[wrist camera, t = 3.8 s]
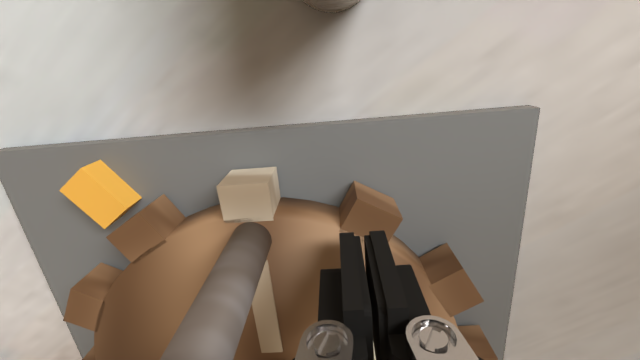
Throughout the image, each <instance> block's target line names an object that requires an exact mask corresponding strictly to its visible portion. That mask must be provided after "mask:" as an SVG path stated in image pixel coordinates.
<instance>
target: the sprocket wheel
mask: <svg viewBox="0 0 640 360" xmlns="http://www.w3.org/2000/svg"><path fill="white" fill-rule="evenodd" d="M216 187H217V192H218V197H219V201H220V204H219V205H216V206H212V207H209V208H206V209H204V210H201V211H199V212H197V213H194V214H192V215H189V216H187V217H185V216H184V215H183V214H182V213H181V212H180V211H179V210H178V208H177V207H176V206H175V205H174V204H173V203H172V202H171V201H170V200H169V199H168V198H167V197H166V195H165V194H163V195H161V196H160V197H159V198H157V199H156V200H154V201H153V202H152V203H150V204H149V205H148V206H146V207H145V208H143V209H142V210H141V211H139V212H138V213H137V214H135V215H134V216H133V217H131V218H130V219H129V220H127V221H126V222H125V223H124V224H122V225H121V226H120V227H118V228H117V229H116V230H115V231H113V232H112V233H111V234H109V235H108V236H107V237H106V238H107V239H108V240H109V241H110V242H111V243H112V244H113V245H114V246H115V247H116V248H117V249H118V250H119V251H120V252H121V253H122V254H123V255H124V256H125V257H126V258H127V259H128V260H129V261H130V262H131V263H130V264H129V265H128V266H127V267H126V269H125V270H124V271H122V270H120V269H117V268H115V267H112V266H109V265H107V264H104V263H100V264H99V265H97V266H96V267H95V268H94V269H93V270H92V271H90V272H89V273H88V274H87V275H86V276H85V277H84V278H82V279H81V280H80V281H79V282H78V283H77V284H76V285H74V286H73V287H72V288H71V289H70V293H69V298H68V302H67V306H66V311H65V315H64V320H63V321H66V322H69V323H72V324H75V325H77V326H80V327H83V328H86V329H89V330H91V331H94V346H93V347H92V348H91V350H90V351H89V352H88V353H87V354H86V356H85V357H84V358H83V359H82V360H292V359H294V358H295V357H296V353H297V350H298V346H299V343H300V340H301V337H302V335H303V333H304V331H305V330H306V329H307V328H308V327H309V326H310V325H312V324H314V323H315V322H318V306H319V286H320V270H321V269H337V268H341V261H340V241H339V233H349V232H354V236H360V241H361V247H362V253H363V259H364V265H365V249H364V235H369V231H381V230H384V231H385V234H386V237H387V240H388V243H389V246H390V249H391V252H392V256H393V259H394V262H395V265H408V264H410V265H411V266H412V268H413V271H414V273H415V276H416V278H417V281H418V283H419V286H420V288H421V291H422V293H423V296H424V298H425V301H426V303H427V306H428V308H429V311H430V314H431V315H432V316H437V317H441V318H443V319H446V320H448V321H449V322H451V323H452V324H454V325H455V326H456V328H457V329H458V330H459V331H460V332H461V334H462V335H463V337H464V338H465V340H466V341H467V343H468V344H469V345H470V347H471V348H472V350H473V351H474V353H475V354H476V356H478V357H480V358H482V359H483V360H498V358H497V356H496V354H495V353H494V351H493V349H492V347H491V345H490V344H489V342H488V340H487V338H486V337H485V335H484V333H483V331H482V329H481V328H480V326H479V325H469V326H457V324H456V321H455V318H454V316H455V315H457V314H459V313H461V312H463V311H465V310H467V309H469V308H471V307H474V306H476V305H478V304H480V303H482V302H484V300H483V298H482V297H481V295H480V294H479V292H478V290H477V289H476V287H475V286H474V284H473V283H472V281H471V280H470V278H469V276H468V275H467V273H466V272H465V270H464V269H463V267H462V266H461V264H460V262H459V261H458V259H457V258H456V256H455V255H454V253H453V252H452V250H451V249H450V247H449V245H448V244H447V243H445V244H443V245H441V246H439V247H438V248H436V249H434V250H432V251H430V252H428V253H426V254H424V255H423V256H421V257H418V256H417V255H416V254H415V253H414V252H413V251H412V250H411V249H410V248H409V247H408V246H407V245H406V244H405V243H403V242H402V241H401V240H400V239H399V238H397V237H396V236H394V235H393V234H394V233H395V231H396V230H397V228H398V227H399V225H400V223H401V222H402V220H403V218H402V215H401V213H400V211H399V209H398V207H397V204H396V202H395V200H394V198H392V197H389V196H387V195H385V194H383V193H381V192H378V191H376V190H374V189H372V188H370V187H367V186H365V185H363V184H361V183H359V182H356V181H353V183H352V185H351V187H350V188H349V190H348V192H347V194H346V196H345V198H344V199H343V201H342V203H341V205H340V207H336V206H333V205H328V204H324V203H320V202H316V201H312V200H304V199H295V198H287V197H281V196H280V189H279V181H278V174H277V167H264V168H250V169H236V170H231V171H230V172H229V173H228V174H227V175H226V176H225V178H224V179H223V180H222V181H221V182H220V183H219V184H218V185H217V186H216ZM365 271H366V269H365ZM373 348H374V343H373ZM374 360H376V356H375V349H374Z"/></svg>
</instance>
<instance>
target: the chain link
mask: <svg viewBox="0 0 640 360" xmlns="http://www.w3.org/2000/svg"><path fill="white" fill-rule="evenodd" d="M303 1H304V2H305V3H306V4H308V5H309V6H310V7H312V8H314V9H316V10H319V11H322V12H329V13H333V12H340V11H344V10H346V9H348V8H351V7H352V6H354V5H355V4H357V3H358V2H359V1H360V0H303Z"/></svg>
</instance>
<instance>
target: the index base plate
mask: <svg viewBox="0 0 640 360" xmlns="http://www.w3.org/2000/svg"><path fill="white" fill-rule="evenodd" d="M539 113H540V108H539V107H535V106H530V105H525V106H513V107H501V108H488V109H476V110H464V111H452V112H439V113H427V114H415V115H403V116H391V117H378V118H366V119H354V120H342V121H329V122H317V123H305V124H293V125H280V126H268V127H256V128H244V129H231V130H219V131H207V132H195V133H182V134H170V135H158V136H146V137H133V138H121V139H109V140H97V141H84V142H72V143H60V144H48V145H35V146H23V147H11V148H3V149H0V180H1V182H2V184H3V187H4V189H5V191H6V193H7V195H8V198H9V200H10V202H11V204H12V206H13V208H14V211H15V213H16V215H17V217H18V219H19V221H20V224H21V226H22V228H23V230H24V232H25V235H26V237H27V239H28V241H29V243H30V245H31V248H32V250H33V252H34V254H35V256H36V258H37V261H38V263H39V265H40V267H41V269H42V271H43V274H44V276H45V278H46V280H47V282H48V285H49V287H50V289H51V291H52V293H53V295H54V298H55V300H56V302H57V304H58V306H59V308H60V311H61V313H62V315H63V317H64V315H65V311H66V306H67V302H68V298H69V293H70V289H71V288H72V287H73V286H74V285H76V284H77V283H78V282H79V281H80V280H81V279H82V278H84V277H85V276H86V275H87V274H88V273H89V272H90V271H92V270H93V269H94V268H95V267H96V266H97V265H99V264H100V263H104V264H107V265H109V266H112V267H115V268H117V269H120V270H122V271H124V270H125V269H126V267H127V266H128V265H129V264H130V263H131V262H130V261H129V260H128V259H127V258H126V257H125V256H124V255H123V254H122V253H121V252H120V251H119V250H118V249H117V248H116V247H115V246H114V245H113V244H112V243H111V242H110V241H109V240H108V239H107V238H106V237H107V236H108V235H109V234H111V233H112V232H113V231H115V230H116V229H117V228H118V227H120V226H121V225H122V224H124V223H125V222H126V221H127V220H129V219H130V218H131V217H133V216H134V215H135V214H137V213H138V212H139V211H141V210H142V209H143V208H145V207H146V206H148V205H149V204H150V203H152V202H153V201H154V200H156V199H157V198H159V197H160V196H161V195H163V194H165V195H166V197H167V198H168V199H169V200H170V201H171V202H172V203H173V204H174V205H175V206H176V207H177V208H178V210H179V211H180V212H181V213H182V214H183V215H184V216H185V217H187V216H189V215H192V214H194V213H197V212H199V211H201V210H204V209H206V208H209V207H212V206H216V205H219V204H220V201H219V197H218V192H217V187H216V186H217V185H218V184H219V183H220V182H221V181H222V180H223V179H224V178H225V176H226V175H227V174H228V173H229V172H230V171H231V170H236V169H250V168H264V167H277V174H278V181H279V189H280V196H281V197H287V198H295V199H304V200H312V201H316V202H320V203H324V204H328V205H333V206H336V207H340V205H341V203H342V201H343V199H344V198H345V196H346V194H347V192H348V190H349V188H350V187H351V185H352V183H353V181H356V182H359V183H361V184H363V185H365V186H367V187H370V188H372V189H374V190H376V191H378V192H381V193H383V194H385V195H387V196H389V197H392V198H394V200H395V202H396V204H397V207H398V209H399V211H400V213H401V215H402V218H403V220H402V222H401V223H400V225H399V227H398V228H397V230H396V231H395V233H394V234H393V235H394V236H396V237H397V238H399V239H400V240H401V241H402V242H403V243H405V244H406V245H407V246H408V247H409V248H410V249H411V250H412V251H413V252H414V253H415V254H416V255H417V256H418V257H421V256H423V255H424V254H426V253H428V252H430V251H432V250H434V249H436V248H438V247H439V246H441V245H443V244H445V243H447V244H448V245H449V247H450V249H451V250H452V252H453V253H454V255H455V256H456V258H457V259H458V261H459V262H460V264H461V266H462V267H463V269H464V270H465V272H466V273H467V275H468V276H469V278H470V280H471V281H472V283H473V284H474V286H475V287H476V289H477V290H478V292H479V294H480V295H481V297H482V298H483V300H484V302H482V303H480V304H478V305H476V306H474V307H471V308H469V309H467V310H465V311H463V312H461V313H459V314H457V315H455V316H454V318H455V321H456V324H457V326H469V325H479V326H480V328H481V329H482V331H483V333H484V335H485V337H486V338H487V340H488V342H489V344H490V345H491V347H492V349H493V351H494V353H495V354H496V356H497V358H498V360H503V357H504V350H505V343H506V336H507V330H508V323H509V316H510V309H511V302H512V296H513V289H514V282H515V275H516V269H517V262H518V255H519V248H520V241H521V235H522V228H523V221H524V214H525V208H526V201H527V194H528V187H529V180H530V174H531V167H532V160H533V153H534V146H535V140H536V133H537V126H538V119H539ZM66 324H67V326H68V328H69V330H70V332H71V335H72V337H73V339H74V341H75V343H76V345H77V348H78V350H79V352H80V354H81V356H82V358H84V357H85V356H86V354H87V353H88V352H89V351H90V350H91V348H92V347H93V346H94V331H91V330H89V329H86V328H83V327H80V326H77V325H75V324H72V323H69V322H66Z"/></svg>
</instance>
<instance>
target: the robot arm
mask: <svg viewBox="0 0 640 360" xmlns="http://www.w3.org/2000/svg"><path fill="white" fill-rule="evenodd" d="M339 241H340V261H341V268H337V269H321V270H320V286H319V306H318V322H315V323H314V324H312V325H310V326H309V327H308V328H307V329H306V330H305V331H304V333H303V335H302V337H301V340H300V343H299V346H298V350H297V353H296V357H295V358H294V359H292V360H374V349H375V356H376V360H483V359H482V358H480V357H478V356H476V354H475V353H474V351H473V350H472V348H471V347H470V345H469V344H468V343H467V341H466V340H465V338H464V337H463V335H462V334H461V332H460V331H459V330H458V329H457V328H456V326H455V325H454V324H452V323H451V322H449V321H448V320H446V319H443V318H441V317H437V316H432V315H431V314H430V311H429V308H428V306H427V303H426V301H425V298H424V296H423V293H422V291H421V288H420V286H419V283H418V281H417V278H416V276H415V273H414V271H413V268H412V266H411V265H410V264H408V265H395V262H394V259H393V256H392V252H391V249H390V246H389V243H388V240H387V237H386V234H385V231H384V230H381V231H369V235H364V249H365V265H364V259H363V253H362V247H361V241H360V236H354V232H349V233H339ZM365 269H366V271H365ZM373 343H374V348H373Z"/></svg>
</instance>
